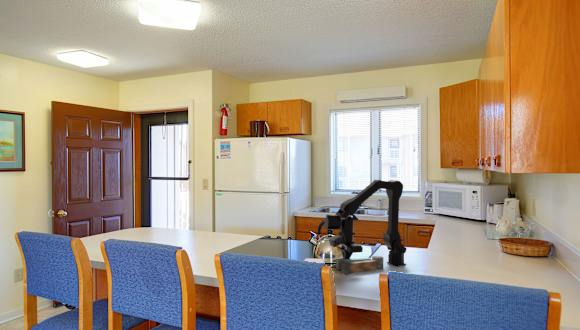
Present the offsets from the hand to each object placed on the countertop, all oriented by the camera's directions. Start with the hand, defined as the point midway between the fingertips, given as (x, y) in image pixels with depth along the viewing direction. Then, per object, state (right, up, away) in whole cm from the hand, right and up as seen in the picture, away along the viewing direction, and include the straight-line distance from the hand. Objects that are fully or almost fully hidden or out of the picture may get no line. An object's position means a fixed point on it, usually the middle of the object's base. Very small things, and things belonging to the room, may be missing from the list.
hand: (345, 263), depth 174 cm
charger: (-16, -2, -9) cm, 18 cm away
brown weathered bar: (+3, -2, -2) cm, 4 cm away
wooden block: (+7, -2, -5) cm, 9 cm away
